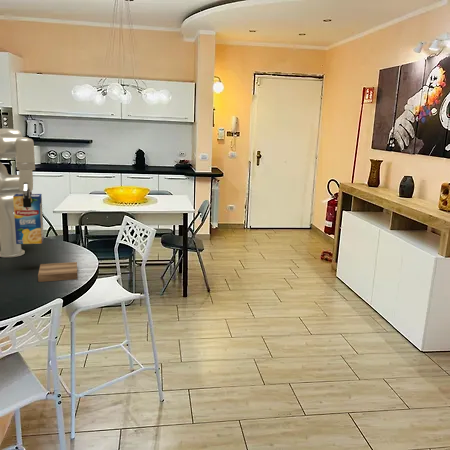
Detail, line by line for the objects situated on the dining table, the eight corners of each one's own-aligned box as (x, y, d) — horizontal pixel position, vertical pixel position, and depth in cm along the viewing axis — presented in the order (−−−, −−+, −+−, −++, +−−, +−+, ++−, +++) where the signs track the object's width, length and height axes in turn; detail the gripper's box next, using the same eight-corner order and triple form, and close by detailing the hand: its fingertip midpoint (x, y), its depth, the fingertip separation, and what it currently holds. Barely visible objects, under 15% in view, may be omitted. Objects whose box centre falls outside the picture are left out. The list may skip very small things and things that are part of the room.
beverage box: (42, 243, 202) (39, 196, 197) (16, 244, 199) (12, 196, 194) (44, 239, 208) (41, 193, 203) (18, 240, 205) (15, 193, 201)
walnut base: (40, 270, 204) (40, 264, 203) (77, 268, 209) (76, 262, 208) (38, 281, 189) (37, 275, 188) (77, 279, 194) (77, 272, 193)
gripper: (18, 164, 203) (21, 202, 207) (14, 168, 187) (16, 209, 191) (36, 164, 205) (38, 202, 209) (33, 168, 189) (35, 209, 193)
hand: (28, 205), depth 200 cm, fingers closed on beverage box, 7 cm apart
